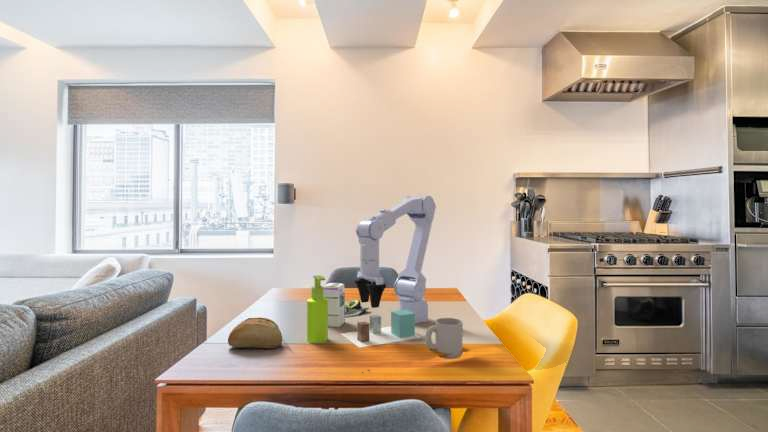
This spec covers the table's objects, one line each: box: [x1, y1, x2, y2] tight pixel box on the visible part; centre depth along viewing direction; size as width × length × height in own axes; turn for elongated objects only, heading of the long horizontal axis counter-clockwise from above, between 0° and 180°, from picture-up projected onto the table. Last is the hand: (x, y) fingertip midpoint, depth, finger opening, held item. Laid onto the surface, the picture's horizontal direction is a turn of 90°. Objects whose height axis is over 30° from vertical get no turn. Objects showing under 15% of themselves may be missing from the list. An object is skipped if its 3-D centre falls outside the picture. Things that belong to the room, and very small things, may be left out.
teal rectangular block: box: [390, 309, 416, 338], centre depth 122 cm, size 5×5×7 cm
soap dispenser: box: [306, 274, 329, 344], centre depth 116 cm, size 6×7×20 cm
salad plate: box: [345, 298, 370, 319], centre depth 152 cm, size 19×18×5 cm
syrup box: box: [322, 282, 346, 328], centre depth 133 cm, size 6×6×14 cm
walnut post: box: [356, 321, 370, 342], centre depth 116 cm, size 3×3×5 cm
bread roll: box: [227, 317, 283, 349], centre depth 115 cm, size 10×15×8 cm, turn 95°
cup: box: [424, 317, 464, 360], centre depth 109 cm, size 7×10×9 cm
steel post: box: [369, 314, 382, 334], centre depth 124 cm, size 3×3×5 cm
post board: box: [340, 325, 422, 349], centre depth 121 cm, size 20×14×2 cm
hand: (369, 304), depth 123 cm, fingers open, 7 cm apart
